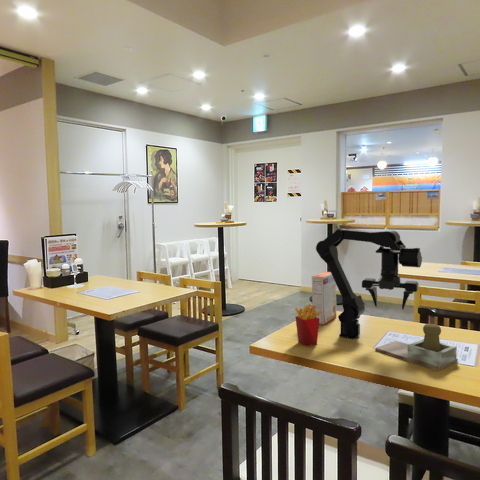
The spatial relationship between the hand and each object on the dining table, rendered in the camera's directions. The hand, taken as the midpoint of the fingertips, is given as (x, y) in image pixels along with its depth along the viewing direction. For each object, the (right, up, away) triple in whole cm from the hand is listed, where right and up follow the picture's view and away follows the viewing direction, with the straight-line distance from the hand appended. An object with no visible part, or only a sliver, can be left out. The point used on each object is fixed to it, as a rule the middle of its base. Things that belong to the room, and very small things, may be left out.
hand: (389, 308), depth 144 cm
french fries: (-28, -14, +2) cm, 32 cm away
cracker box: (-17, -11, +32) cm, 38 cm away
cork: (+7, -13, -17) cm, 23 cm away
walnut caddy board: (+4, -14, -12) cm, 19 cm away
